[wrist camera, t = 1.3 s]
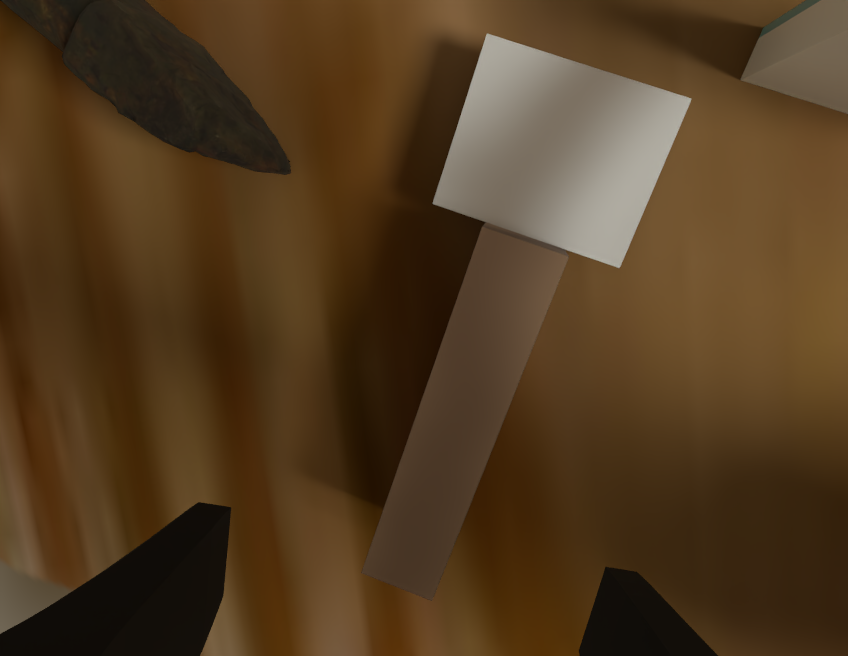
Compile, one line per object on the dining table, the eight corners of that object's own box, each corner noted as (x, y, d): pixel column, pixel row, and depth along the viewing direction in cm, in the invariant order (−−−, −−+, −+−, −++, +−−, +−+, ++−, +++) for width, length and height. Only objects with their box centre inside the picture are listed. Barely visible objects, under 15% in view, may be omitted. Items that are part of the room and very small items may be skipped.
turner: (672, 107, 18) (713, 88, 14) (488, 547, 23) (482, 620, 19) (490, 49, 19) (482, 15, 15) (346, 492, 23) (312, 553, 19)
